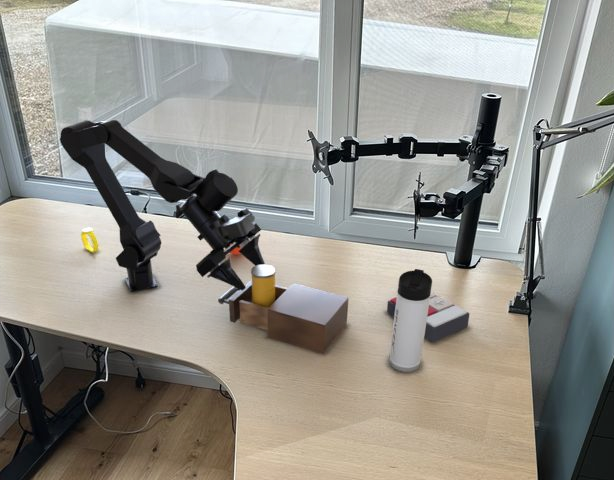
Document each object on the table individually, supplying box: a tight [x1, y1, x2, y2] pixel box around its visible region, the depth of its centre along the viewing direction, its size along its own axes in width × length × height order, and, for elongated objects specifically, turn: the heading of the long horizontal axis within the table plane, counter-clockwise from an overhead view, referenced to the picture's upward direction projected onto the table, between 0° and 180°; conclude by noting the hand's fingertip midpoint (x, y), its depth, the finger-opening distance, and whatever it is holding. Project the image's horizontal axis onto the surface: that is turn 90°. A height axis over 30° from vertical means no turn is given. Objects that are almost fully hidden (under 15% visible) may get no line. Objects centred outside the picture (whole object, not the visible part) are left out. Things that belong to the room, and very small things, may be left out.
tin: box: [250, 264, 276, 308], centre depth 142 cm, size 5×5×10 cm
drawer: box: [217, 279, 289, 331], centre depth 145 cm, size 16×11×6 cm
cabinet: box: [267, 282, 349, 355], centre depth 140 cm, size 13×12×7 cm
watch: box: [80, 227, 100, 254], centre depth 169 cm, size 6×3×6 cm, turn 46°
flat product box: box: [386, 291, 470, 343], centre depth 146 cm, size 11×4×15 cm
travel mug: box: [388, 268, 433, 373], centre depth 128 cm, size 6×7×20 cm
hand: (254, 279), depth 141 cm, fingers open, 9 cm apart
